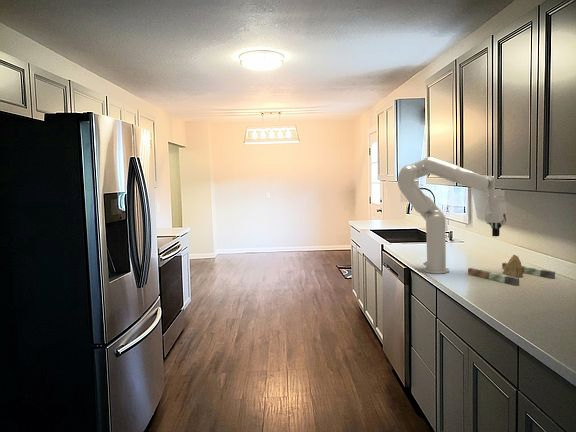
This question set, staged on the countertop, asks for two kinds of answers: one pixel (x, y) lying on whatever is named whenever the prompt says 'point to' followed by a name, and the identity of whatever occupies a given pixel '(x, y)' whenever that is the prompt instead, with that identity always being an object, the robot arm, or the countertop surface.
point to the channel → (507, 278)
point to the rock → (514, 267)
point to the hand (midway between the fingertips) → (495, 236)
